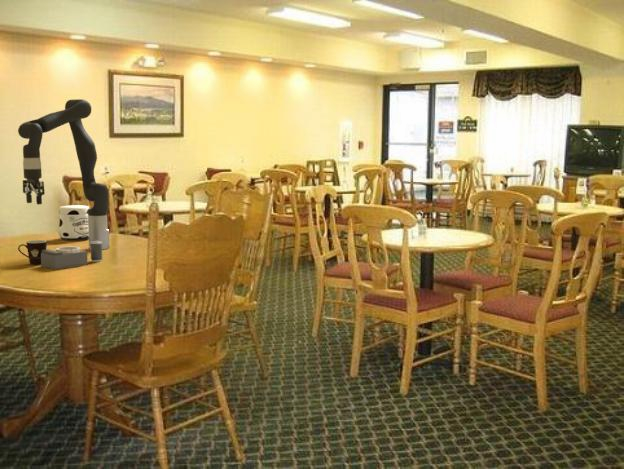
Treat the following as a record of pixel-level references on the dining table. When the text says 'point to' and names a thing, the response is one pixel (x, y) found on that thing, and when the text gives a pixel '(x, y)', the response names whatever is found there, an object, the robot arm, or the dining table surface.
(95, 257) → the lens
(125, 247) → the dining table surface
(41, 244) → the coffee mug
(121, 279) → the dining table surface
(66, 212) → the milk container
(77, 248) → the camera body
